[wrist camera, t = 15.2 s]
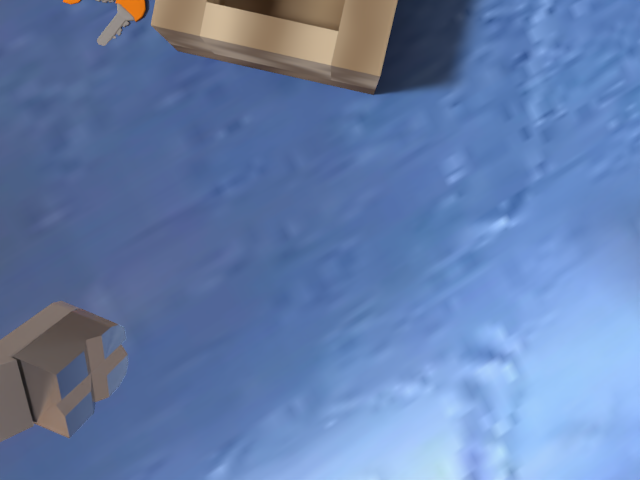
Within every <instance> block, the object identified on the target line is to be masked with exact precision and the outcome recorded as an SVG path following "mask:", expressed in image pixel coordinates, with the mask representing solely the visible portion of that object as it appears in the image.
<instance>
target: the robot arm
mask: <svg viewBox="0 0 640 480" xmlns="http://www.w3.org/2000/svg"><path fill="white" fill-rule="evenodd" d="M125 340H126V334H125V327H123V326H121V325H118V324H116V323H114V322H111V321H109V320H106V319H104V318H102V317H99V316H97V315H95V314H92V313H90V312H88V311H85V310H83V309H80V308H78V307H75V306H73V305H70V304H68V303H66V302H63V301H59V302H55V303H52V304H50V305H49V306H48V307H46V308H45V309H43V310H42V311H41V312H39V313H38V314H36V315H35V316H34V317H32V318H31V319H29V320H28V321H26V322H25V323H24V324H22V325H21V326H19V327H18V328H17V329H15V330H14V331H12V332H11V333H10V334H8V335H7V336H5V337H4V338H3V339H1V340H0V442H1V441H3V440H5V439H8V438H10V437H12V436H14V435H16V434H18V433H20V432H22V431H24V430H26V429H28V428H30V427H33V426H34V423H35V424H37V425H39V426H42V427H44V428H46V429H49V430H51V431H53V432H56V433H58V434H61V435H63V436H65V437H68V438H70V437H71V436H72V435H73V434H74V433H75V432H76V431H77V430H78V429H79V428H80V427H81V426H82V425H83V424H84V423H85V422H86V421H87V420H88V419H89V418H90V417H91V416H92V415H93V414H94V409H95V402H97V401H100V400H102V399H105V398H108V397H110V396H111V395H112V393H113V392H114V391H115V390H116V389H117V388H118V387H119V386H120V384H121V382H122V380H123V378H124V376H125V375H126V372H127V367H128V354H127V353H126V351H125V350H124V348H123V347H122V345H121V344H122V343H123V342H124V341H125Z"/></svg>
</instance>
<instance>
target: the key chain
mask: <svg viewBox="0 0 640 480" xmlns="http://www.w3.org/2000/svg"><path fill="white" fill-rule="evenodd" d="M80 1H81V0H63V2H65V3H68V4H75V3H79V2H80ZM96 1H99V2H100V1H102V2H105V3H107V1H109V3H111V2H114V1H115V0H96ZM115 3H116V4H117V11H118V13H117V14H116V16H115V17H114V18H113V20H112V21H111V22H110V23H109V25H108V26H107V27H106V29H105V30H104V31H103V32H102V34H101V35H100V36H99V38H98V39H97V42H98V44H99V45H103V46H105V45H106V44H107V43H108V42H109V41H110V40H111V39H112V38H114V39H115V38H116V37H115V34H116V33H117V34H118V35H119V36H120V34H121V33H120V32H121V31H122V29H121V27H122V26H123V27H125V26H126V25H127V26H128V25H129V24H130V23H129V22H128V21H136V22H137V21H138V20H139V19H141V18H142V17H143V15H144V13H145V11H146V5H145V0H116V2H115Z"/></svg>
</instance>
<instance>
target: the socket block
mask: <svg viewBox="0 0 640 480" xmlns="http://www.w3.org/2000/svg"><path fill="white" fill-rule="evenodd" d="M397 1H398V0H155V6H154V11H153V16H152V21H151V26H152V27H153V28H154V29H155V30H156V31H158V32H159V33H160V34H161V35H162V36H163V37H164V38H165V39H166V40H167V41H168V42H169V43H170V44H171V45H172V46H173V47H174V48H175V49H176V50H177V51H180V52H185V53H189V54H194V55H198V56H202V57H207V58H211V59H216V60H220V61H225V62H229V63H234V64H238V65H243V66H247V67H252V68H256V69H260V70H265V71H269V72H274V73H278V74H283V75H287V76H292V77H296V78H301V79H305V80H310V81H314V82H318V83H323V84H327V85H332V86H336V87H341V88H345V89H350V90H354V91H359V92H363V93H367V94H372V95H374V92H375V89H376V86H377V84H378V81H379V78H380V75H381V71H382V66H383V62H384V58H385V53H386V49H387V45H388V40H389V36H390V32H391V27H392V23H393V19H394V14H395V10H396V6H397Z"/></svg>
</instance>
